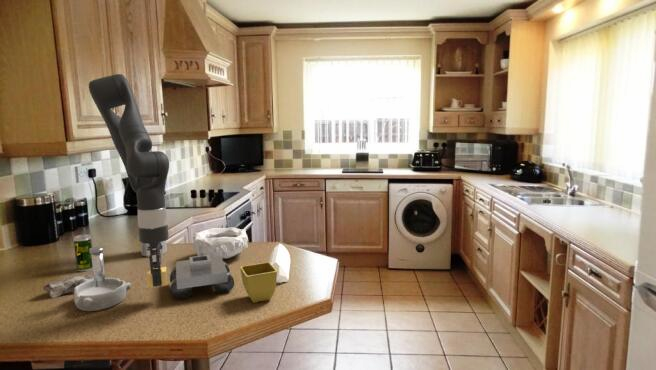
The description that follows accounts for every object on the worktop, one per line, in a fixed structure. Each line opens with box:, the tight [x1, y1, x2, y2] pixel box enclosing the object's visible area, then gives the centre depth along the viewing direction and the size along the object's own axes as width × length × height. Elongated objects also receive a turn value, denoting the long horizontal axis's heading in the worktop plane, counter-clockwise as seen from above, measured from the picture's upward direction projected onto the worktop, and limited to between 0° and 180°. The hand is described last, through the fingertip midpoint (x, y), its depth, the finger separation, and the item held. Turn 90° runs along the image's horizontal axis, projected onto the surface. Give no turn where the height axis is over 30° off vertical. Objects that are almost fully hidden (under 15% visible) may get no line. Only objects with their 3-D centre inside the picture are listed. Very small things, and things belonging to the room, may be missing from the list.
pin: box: [89, 246, 106, 287], centre depth 116 cm, size 4×4×11 cm
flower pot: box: [239, 261, 277, 304], centre depth 117 cm, size 9×9×9 cm
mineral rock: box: [42, 274, 94, 299], centre depth 126 cm, size 15×8×4 cm, turn 120°
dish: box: [73, 277, 132, 312], centre depth 118 cm, size 14×14×5 cm
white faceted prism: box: [268, 243, 292, 284], centre depth 139 cm, size 7×7×24 cm
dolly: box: [169, 255, 235, 301], centre depth 125 cm, size 16×18×10 cm
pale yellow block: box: [146, 266, 168, 289], centre depth 116 cm, size 4×5×4 cm
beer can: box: [73, 233, 93, 273], centre depth 143 cm, size 5×5×12 cm
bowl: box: [192, 226, 250, 260], centre depth 154 cm, size 21×20×10 cm
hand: (157, 282), depth 116 cm, fingers closed on pale yellow block, 4 cm apart
